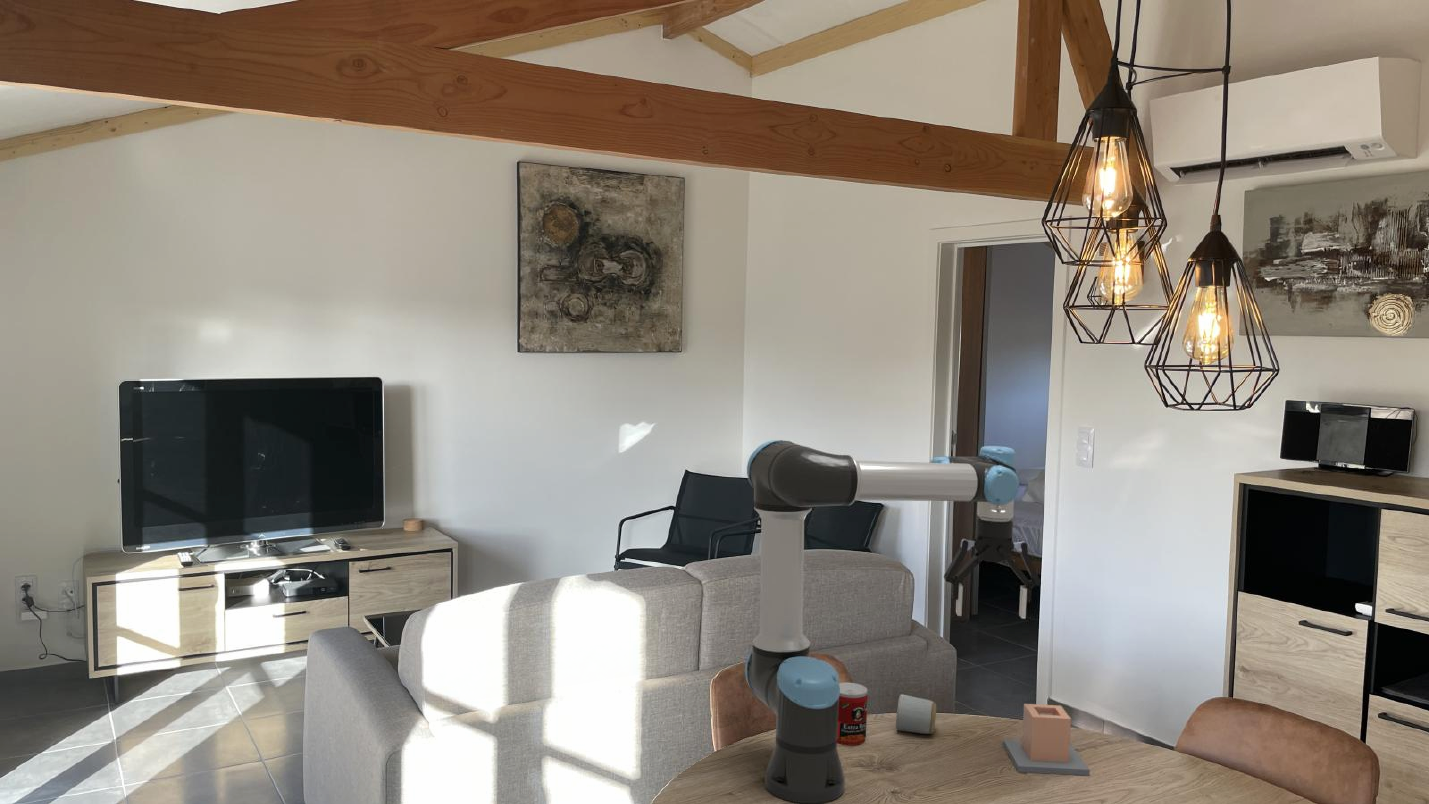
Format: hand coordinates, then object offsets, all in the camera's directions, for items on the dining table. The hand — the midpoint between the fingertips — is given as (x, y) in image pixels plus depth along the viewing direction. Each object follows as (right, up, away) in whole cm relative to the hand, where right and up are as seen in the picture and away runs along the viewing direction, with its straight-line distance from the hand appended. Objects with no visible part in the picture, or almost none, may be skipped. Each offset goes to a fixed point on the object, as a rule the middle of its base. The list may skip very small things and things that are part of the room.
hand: (990, 615), depth 223 cm
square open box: (+9, -26, -10) cm, 30 cm away
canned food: (-31, -26, -2) cm, 41 cm away
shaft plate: (+9, -28, -10) cm, 31 cm away
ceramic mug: (-15, -26, +5) cm, 31 cm away
